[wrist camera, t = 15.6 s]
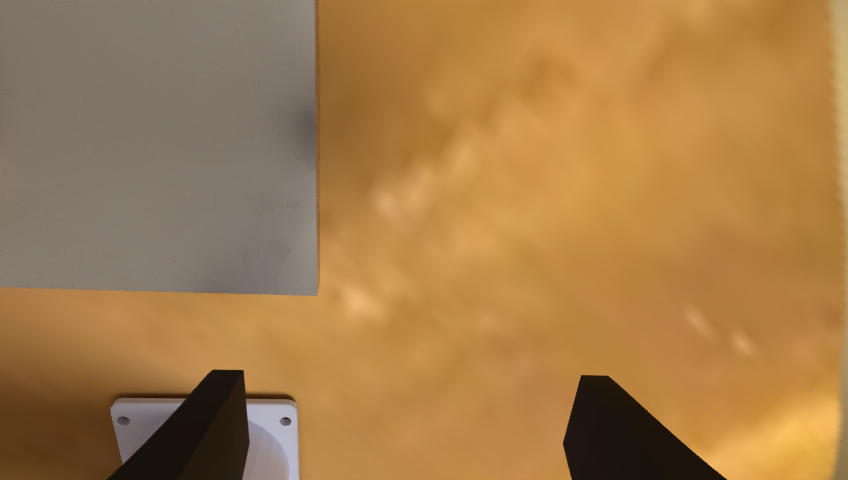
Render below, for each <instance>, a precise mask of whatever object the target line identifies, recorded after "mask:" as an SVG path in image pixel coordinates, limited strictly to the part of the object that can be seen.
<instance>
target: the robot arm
mask: <svg viewBox="0 0 848 480" xmlns="http://www.w3.org/2000/svg"><path fill="white" fill-rule="evenodd" d="M110 413H111V417H112V421H113V426H114V430H115V434H116V439H117V443H118V447H119V452H120V456H121V460H122V465H121V466H120V467H119V468H118V469H117V470H116V471H115V472H114V473H113V474H112V475H111V476H110V477H109V478H108V479H107V480H300V470H299V437H298V407H297V404H296V403H295V402H294V401H292V400H288V399H246V394H245V382H244V370H212V371H211V372H210V373H209V374H207V376H206V377H205V378H204V379H203V380H202V381H201V382H200V383H199V385H198V386H197V387H196V388H195V389H194V390H193V391H192V393H191V394H190V395H189V396H188V397H187V398H119V399H117V400H115V402H114V403H113V405H112V406H111V408H110ZM122 416H123V417H122ZM124 417H127V418H128V419H126V418H124ZM283 417H288V418H290V419H284V418H283ZM563 446H564V450H565V454H566V458H567V462H568V467H569V470H570V474H571V478H572V480H727V479H726V478H724V477H723V476H722V475H721V474H719V473H718V472H717V471H716V470H714V469H713V468H712V467H711V466H709V465H708V464H707V463H706V462H705V461H703V460H702V459H701V458H700V457H699V456H698V455H696V454H695V453H694V452H693V451H692V450H691V449H689V448H688V447H687V446H686V445H685V444H684V443H682V442H681V441H680V440H679V439H678V438H677V437H676V436H674V435H673V434H672V433H671V432H670V431H669V430H668V429H667V428H666V427H664V426H663V425H662V424H661V423H660V422H659V421H658V420H657V419H656V418H654V417H653V416H652V415H651V414H650V413H649V412H648V411H647V410H646V409H645V408H644V407H642V406H641V405H640V404H639V403H638V402H637V401H636V400H635V399H634V398H633V397H631V396H630V395H629V394H628V393H627V392H626V391H625V390H624V389H623V388H622V387H620V386H619V385H618V384H617V383H616V382H615V381H614V380H612V379H611V378H610V377H609V376H594V375H581V378H580V381H579V385H578V389H577V393H576V396H575V400H574V404H573V408H572V411H571V415H570V419H569V423H568V426H567V430H566V434H565V438H564V441H563Z"/></svg>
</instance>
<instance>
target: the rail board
mask: <svg viewBox="0 0 848 480" xmlns="http://www.w3.org/2000/svg"><path fill="white" fill-rule="evenodd" d="M319 283H320V263H319V93H318V0H0V287H17V288H53V289H89V290H125V291H161V292H197V293H233V294H269V295H305V296H317V294H318V289H319Z"/></svg>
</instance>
